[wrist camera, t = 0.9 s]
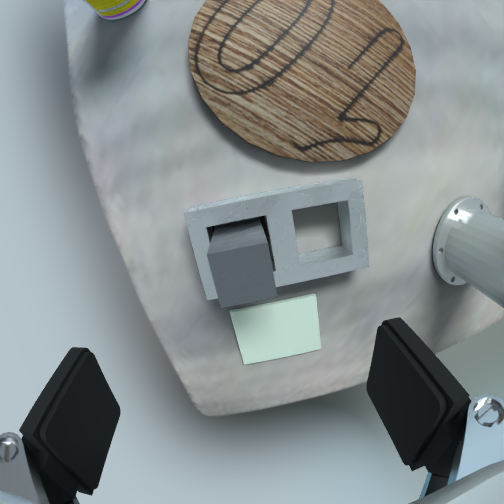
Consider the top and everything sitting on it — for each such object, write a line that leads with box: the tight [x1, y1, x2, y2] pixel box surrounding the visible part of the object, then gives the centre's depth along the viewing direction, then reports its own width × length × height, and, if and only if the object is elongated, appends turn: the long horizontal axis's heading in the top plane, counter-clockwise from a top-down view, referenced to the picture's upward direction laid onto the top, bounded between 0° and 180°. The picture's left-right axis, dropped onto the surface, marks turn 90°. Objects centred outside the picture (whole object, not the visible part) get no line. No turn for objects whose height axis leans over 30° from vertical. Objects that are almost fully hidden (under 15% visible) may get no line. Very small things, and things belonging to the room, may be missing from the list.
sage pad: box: [230, 293, 321, 364], centre depth 34 cm, size 10×8×1 cm
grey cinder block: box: [184, 178, 369, 300], centre depth 29 cm, size 17×9×4 cm, turn 101°
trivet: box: [188, 0, 416, 162], centre depth 24 cm, size 25×25×2 cm
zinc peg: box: [207, 217, 278, 308], centre depth 26 cm, size 4×4×10 cm
